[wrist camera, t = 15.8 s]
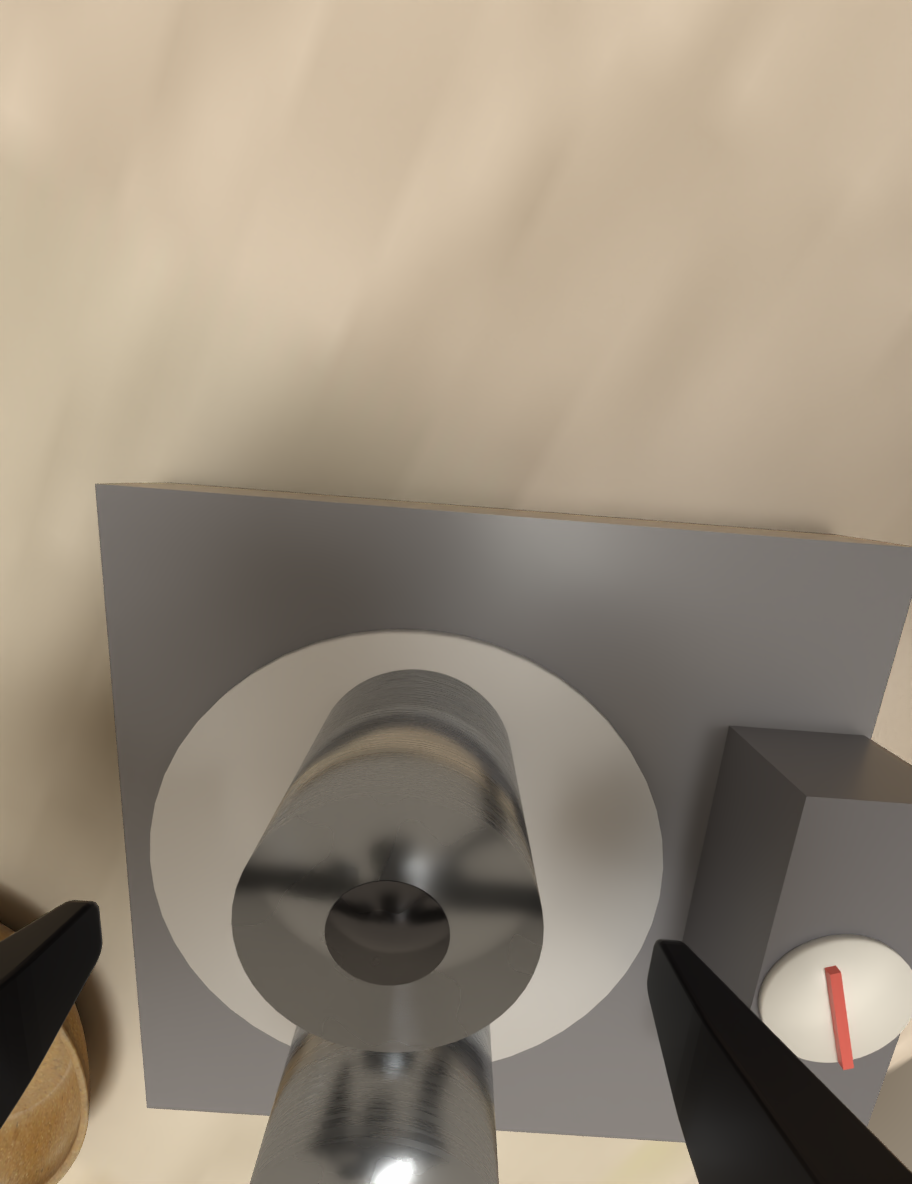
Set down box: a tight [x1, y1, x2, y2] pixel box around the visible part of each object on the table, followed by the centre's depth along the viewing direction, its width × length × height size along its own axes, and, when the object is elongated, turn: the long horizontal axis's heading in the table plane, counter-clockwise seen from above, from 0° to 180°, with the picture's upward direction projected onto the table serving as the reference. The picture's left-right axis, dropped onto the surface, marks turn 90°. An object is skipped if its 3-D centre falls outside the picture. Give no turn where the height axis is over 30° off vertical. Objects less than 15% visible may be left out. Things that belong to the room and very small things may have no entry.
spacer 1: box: [231, 669, 544, 1052], centre depth 10 cm, size 5×5×5 cm
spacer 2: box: [250, 1024, 499, 1184], centre depth 12 cm, size 5×5×5 cm
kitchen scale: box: [95, 483, 912, 1143], centre depth 14 cm, size 20×20×6 cm
